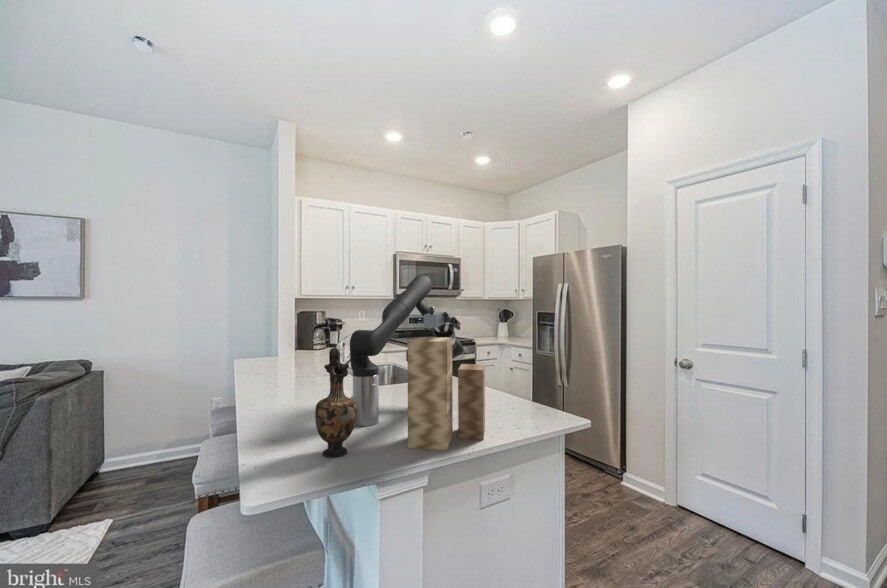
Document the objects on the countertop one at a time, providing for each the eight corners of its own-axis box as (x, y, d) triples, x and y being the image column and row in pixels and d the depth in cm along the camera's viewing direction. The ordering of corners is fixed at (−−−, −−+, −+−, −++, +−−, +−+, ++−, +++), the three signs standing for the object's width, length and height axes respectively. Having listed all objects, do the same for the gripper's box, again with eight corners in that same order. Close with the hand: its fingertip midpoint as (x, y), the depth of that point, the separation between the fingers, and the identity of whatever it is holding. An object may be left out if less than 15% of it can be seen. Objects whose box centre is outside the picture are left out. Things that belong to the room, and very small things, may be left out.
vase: (317, 464, 104) (317, 353, 104) (313, 447, 115) (313, 347, 116) (360, 456, 109) (360, 350, 109) (352, 441, 120) (352, 345, 120)
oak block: (407, 448, 115) (407, 340, 115) (416, 434, 126) (415, 337, 126) (447, 450, 113) (447, 341, 113) (452, 436, 124) (452, 337, 124)
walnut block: (458, 438, 123) (458, 369, 123) (461, 427, 132) (461, 363, 133) (483, 439, 121) (483, 369, 122) (485, 428, 131) (484, 364, 131)
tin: (423, 327, 119) (423, 307, 119) (435, 322, 139) (435, 305, 139) (436, 327, 119) (436, 307, 119) (446, 323, 138) (446, 305, 138)
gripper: (428, 325, 151) (419, 304, 136) (464, 325, 149) (459, 304, 134) (426, 343, 147) (417, 323, 133) (463, 343, 145) (458, 324, 130)
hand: (438, 314), depth 133 cm, fingers closed on tin, 4 cm apart
